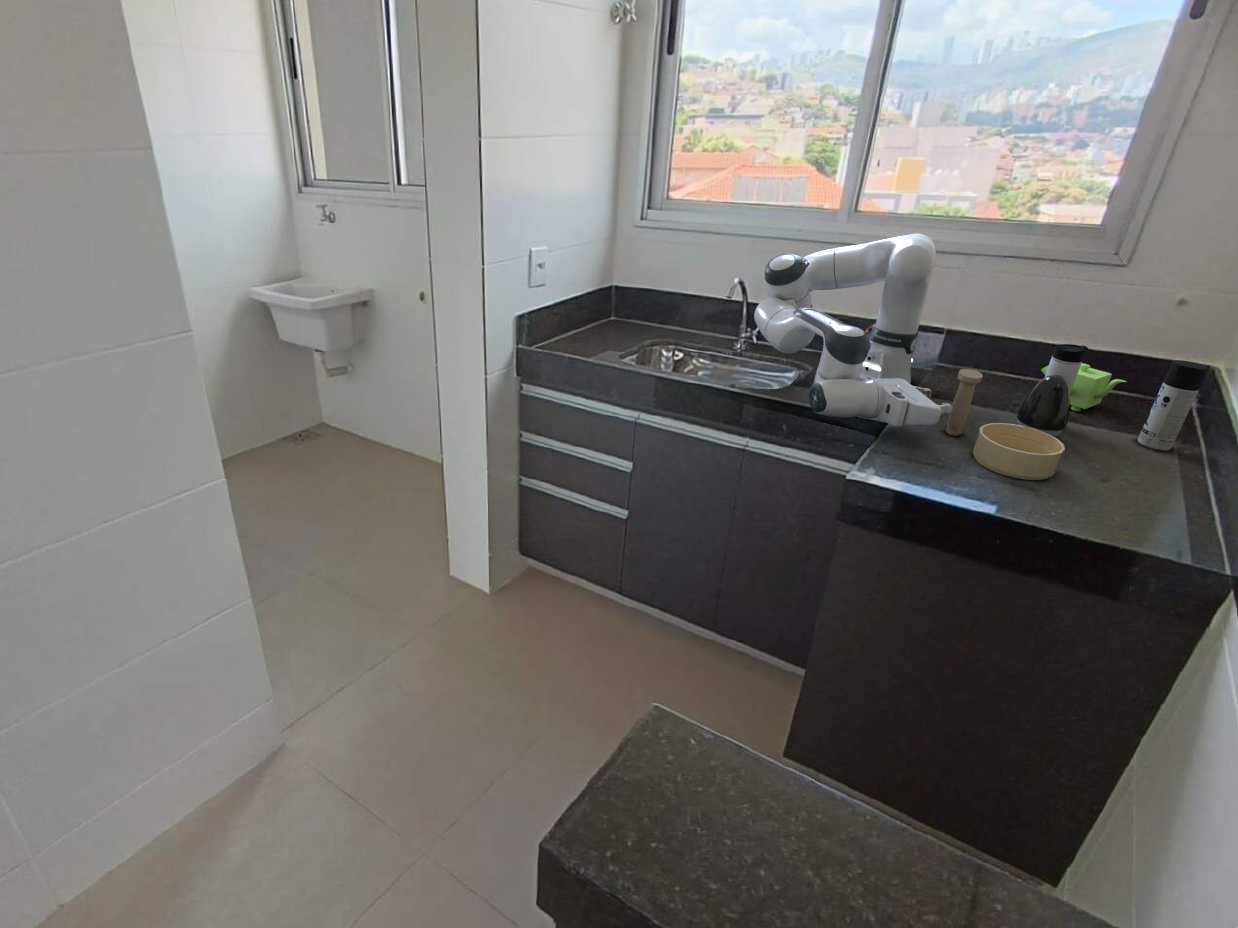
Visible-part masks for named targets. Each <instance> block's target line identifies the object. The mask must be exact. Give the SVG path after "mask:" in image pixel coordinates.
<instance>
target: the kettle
mask: <svg viewBox="0 0 1238 928" xmlns="http://www.w3.org/2000/svg"><path fill="white" fill-rule="evenodd" d="M1048 366H1049V365H1046V366H1044V367H1042V368H1041V369H1040V371H1041V372H1042V373H1043V374H1044V376H1045V375H1046V372H1047V369H1048ZM1112 375H1113V374H1112V373H1110V372H1107V371H1103V370H1099V369H1096V368H1093V367H1091V365H1089V364H1087V363H1083V362H1082V363H1081V366H1080V369H1079V371H1078V374H1077V377H1076V379H1075V382H1074V385H1073V387H1072V390H1071V393H1070V409H1071V410H1072V411H1074V412H1081V411H1082V409H1083V410H1086V409H1089V408H1091V407H1094V406H1097V405H1099V404H1101V403H1102V401H1103V398H1104V397H1106V396H1108V394H1109V393H1110V392H1111V391H1112V390H1113V389H1114V388H1115V387H1116V386H1117V385H1118V384H1120V383H1121V384H1122V383H1127V380H1124V379H1120V378H1116V379H1112V380H1111V378H1112V377H1113V376H1112Z"/></svg>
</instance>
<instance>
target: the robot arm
mask: <svg viewBox="0 0 1238 928" xmlns="http://www.w3.org/2000/svg"><path fill="white" fill-rule="evenodd" d="M936 261H937V248H936V244H935V242H934V241H933V240H932V238H930V237H929V236H928V235H926V234H923V233H910V234H906V235H905V234H904V235H899V236H895V237H889V238H885V239H879V240H876V241H870V242H867V243H861V244H853V245H847V246H840V247H835V248H829V249H825V250H820V251H816V252H813V253H811V254H808V255H806V256H800V255H796V254H793V253H782V254H779V255H776V256H774V257H772V258H771V259H770V260H769V261H768V263H766V264H765V266H764V267H765V268H764V280H765V282H766V290H767V296H768V297H767V298H765V299H763V300H762V301H761V302H759V304H757V306H756V307H755V311H754V315H753V318H754V319H753V320H754V323H755V324H756V326H757V329H758V330H759V332H760V333H761V335H762V336H763V337H764V339H765V340H766V341H767V342H768V343H769V344H770V345H771V346H772V347H773V348H774V349H775V350H777V351H778V352H780V353H783V354H795V353H799V352H800V351H802V350H803V349H805V348H806V347H807V346H809V345H810V344H811V342H812V341H813V339H814V337H815V335H817V336H820V337H821V338H822V339H823V344H822V345H823V347H822V352H821V354H820V359H819V363H818V366H817V369H816V372H815V375H814V378H813V379H814V380H813V383H812V384H811V385H810V388H809V390H808V402H809V406H810V408H811V410H812V411H813V412H814V413H815V414H817V415H821V416H823V417H830V418H831V417H832V418H840V419H841V418H842V419H843V418H845V419H851V418H855V417H861V418H864V419H875V420H877V421H883V422H885V423H887V424H889V425H891V426H893V427H902V426H903V424H904V425H909V426H931V425H937V424H938V423H939V422H940V419H941V416H942V415H943V414H950V412H951V411H952V408H953V407H952V404H950V403H947V402H942V403H941V404H938V403H937V404H936V403H935V402H934V401H933V400H931V399H930V398H931V397H932V396H933V395H932V394H933V390H931V389H930V388H927V387H921V386H916V385H912V384H911V382H912V363H913V361H914V359H913V353H914V352H915V350H916V347H917V345H918V337H919V331H918V330H919V327H920V323H921V319H922V315H923V310H924V307H925V302H926V300H927V295H928V291H929V288H930V284H931V281H932V277H933V272H934V270H935V265H936ZM881 282H884V285H883V290H882V295H881V299H880V304H879V309H878V314H877V318H876V322H875V323H873V324H872V325H870V326H869V327H868V328H865V331H864V330H863V329H862V328H859V327H858V326H854V325H851V324H848V323H845V322H843V321H841V320H839V319H838V318H837V319H836V318H835V317H834V316H831V315H829V314H827V313H825V312H823V311H821V310H818V309H816V308H814V307H813V304H812V296H811V292H813V291H828V290H829V291H830V290H840V289H848V288H856V287H863V286H870V285H872V284H876V283H881Z"/></svg>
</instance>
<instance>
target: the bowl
mask: <svg viewBox="0 0 1238 928" xmlns="http://www.w3.org/2000/svg"><path fill="white" fill-rule="evenodd" d="M1065 451H1066V448H1065V444H1064V443H1063V442H1062V441H1061V440H1060V439H1058V438H1056V437H1053V436H1051V435H1049V434H1047V433H1044V432H1042V431H1039V430H1036V429H1033V428H1029V427H1026V426H1021V425H1018V424H1015V423H1008V422H1007V423H1006V422H990V423H986V424H983V425H981V426H980V427H979V429H978V431H977V435H976V438H975V441H974V444H973V447H972V455H973V458H974V459H975V460H976V462H977V463H978V464H980V465H981V466H983V467H985V468H987V469H988V470H990V471H993V472H995V473H997V474H1000V475H1004V476H1007V477H1010V478H1013V479H1014V478H1015V479H1021V480H1027V481H1040V480H1041V481H1042V480H1047V479H1049V478H1052V476H1053V475H1055V474H1056V472H1057V471H1058V469H1059V466H1060V463H1061V461H1062V459H1063V456H1064V453H1065Z"/></svg>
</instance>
